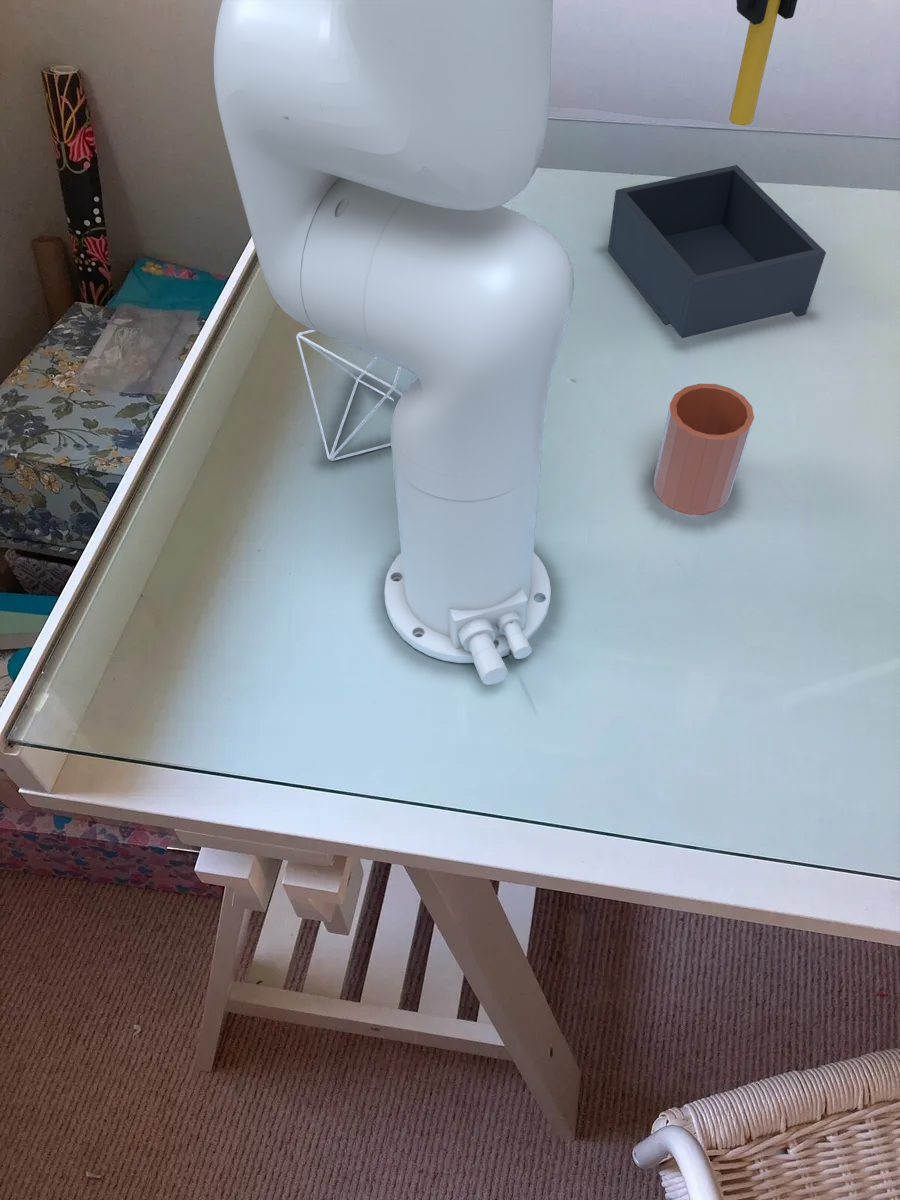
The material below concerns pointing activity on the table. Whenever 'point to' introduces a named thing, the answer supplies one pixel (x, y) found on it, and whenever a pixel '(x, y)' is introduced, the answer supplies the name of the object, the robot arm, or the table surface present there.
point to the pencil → (753, 66)
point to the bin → (712, 251)
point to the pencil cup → (702, 448)
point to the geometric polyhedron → (393, 388)
